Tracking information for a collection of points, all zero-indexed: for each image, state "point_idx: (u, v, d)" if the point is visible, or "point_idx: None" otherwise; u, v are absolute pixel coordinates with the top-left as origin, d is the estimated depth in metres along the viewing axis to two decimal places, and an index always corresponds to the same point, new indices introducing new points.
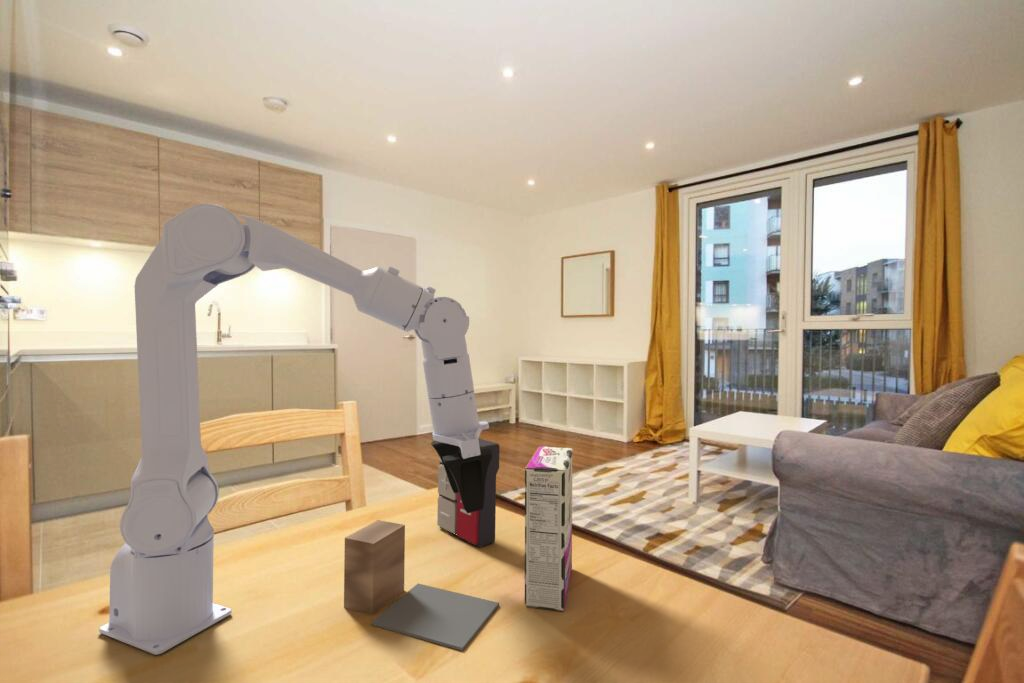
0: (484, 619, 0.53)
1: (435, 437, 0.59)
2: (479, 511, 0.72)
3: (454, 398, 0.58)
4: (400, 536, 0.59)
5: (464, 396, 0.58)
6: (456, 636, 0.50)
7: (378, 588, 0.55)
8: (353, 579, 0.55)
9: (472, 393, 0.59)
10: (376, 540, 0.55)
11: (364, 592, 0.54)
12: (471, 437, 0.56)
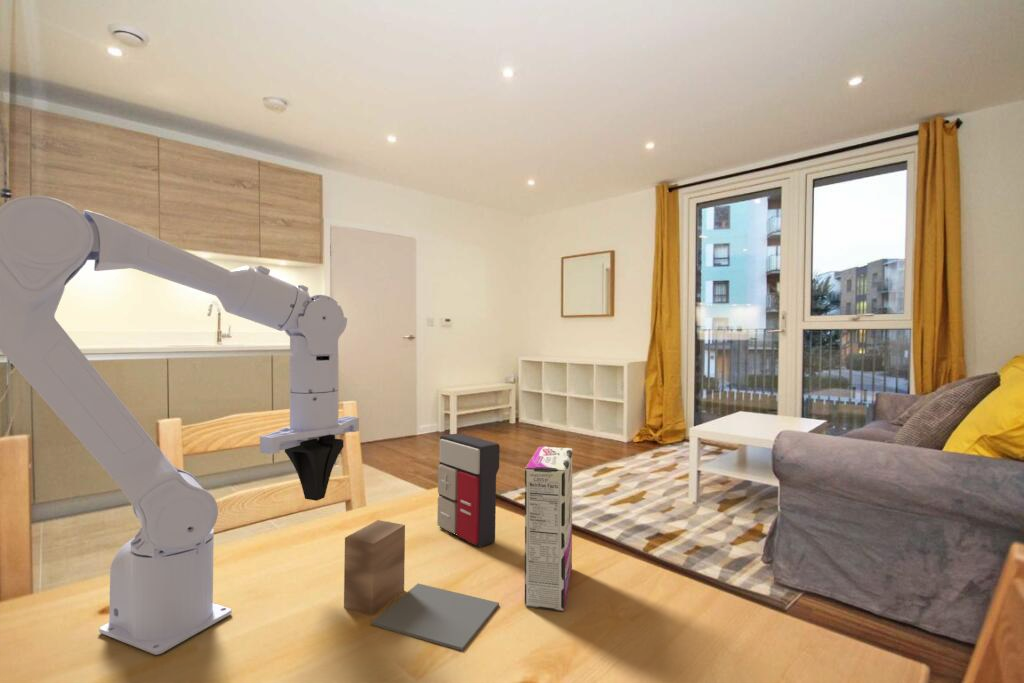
0: (484, 619, 0.53)
1: None
2: (479, 511, 0.72)
3: (295, 394, 0.59)
4: (400, 536, 0.59)
5: (304, 395, 0.58)
6: (456, 636, 0.50)
7: (378, 588, 0.55)
8: (353, 578, 0.55)
9: (318, 394, 0.59)
10: (376, 540, 0.55)
11: (364, 591, 0.54)
12: None
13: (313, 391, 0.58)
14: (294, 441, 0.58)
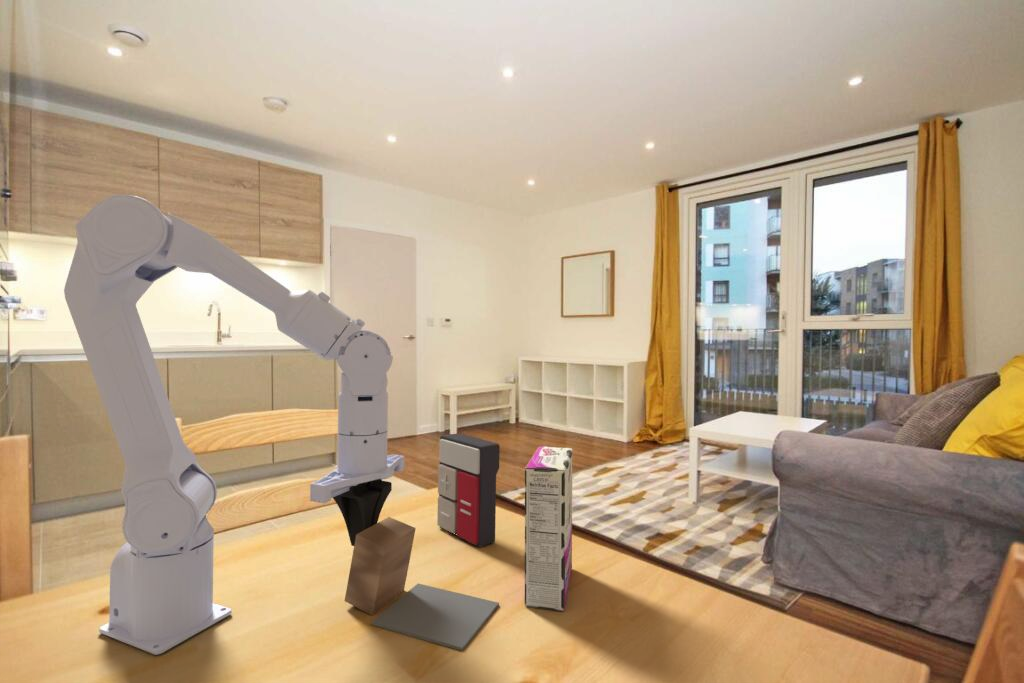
0: (484, 619, 0.53)
1: None
2: (479, 511, 0.72)
3: (345, 437, 0.56)
4: (410, 539, 0.58)
5: (355, 438, 0.55)
6: (456, 636, 0.50)
7: (382, 589, 0.55)
8: (358, 576, 0.55)
9: (369, 437, 0.56)
10: (388, 543, 0.54)
11: (367, 591, 0.54)
12: None
13: (354, 434, 0.55)
14: (344, 487, 0.55)
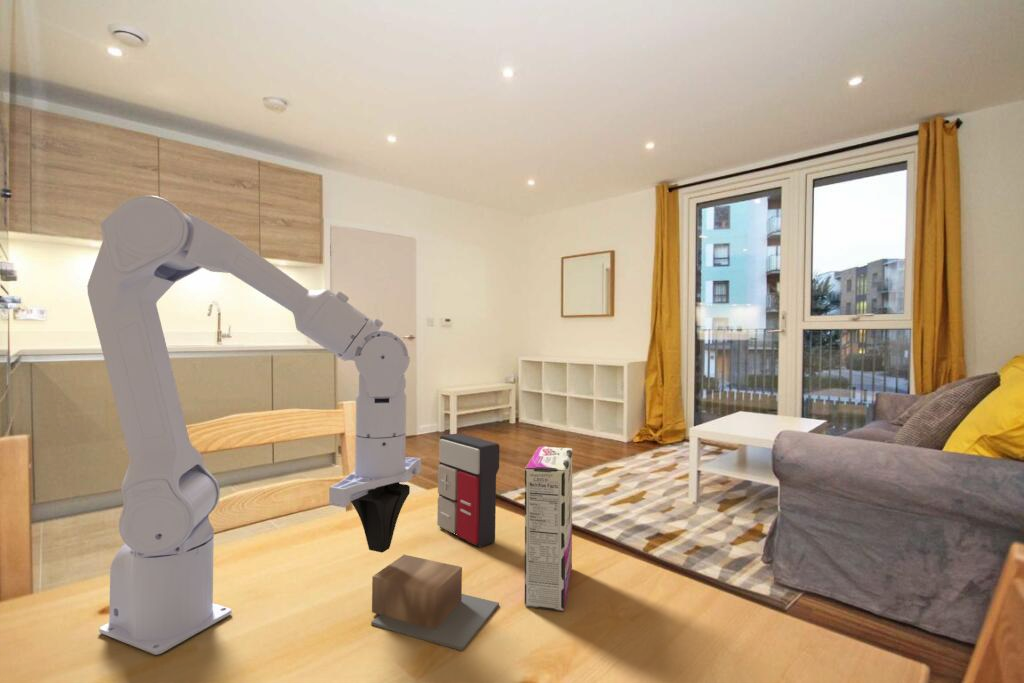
0: (484, 619, 0.53)
1: None
2: (479, 511, 0.72)
3: (363, 439, 0.55)
4: None
5: (373, 440, 0.54)
6: (456, 636, 0.50)
7: None
8: (399, 594, 0.52)
9: (388, 439, 0.55)
10: (438, 623, 0.52)
11: (389, 606, 0.53)
12: None
13: (371, 436, 0.54)
14: None
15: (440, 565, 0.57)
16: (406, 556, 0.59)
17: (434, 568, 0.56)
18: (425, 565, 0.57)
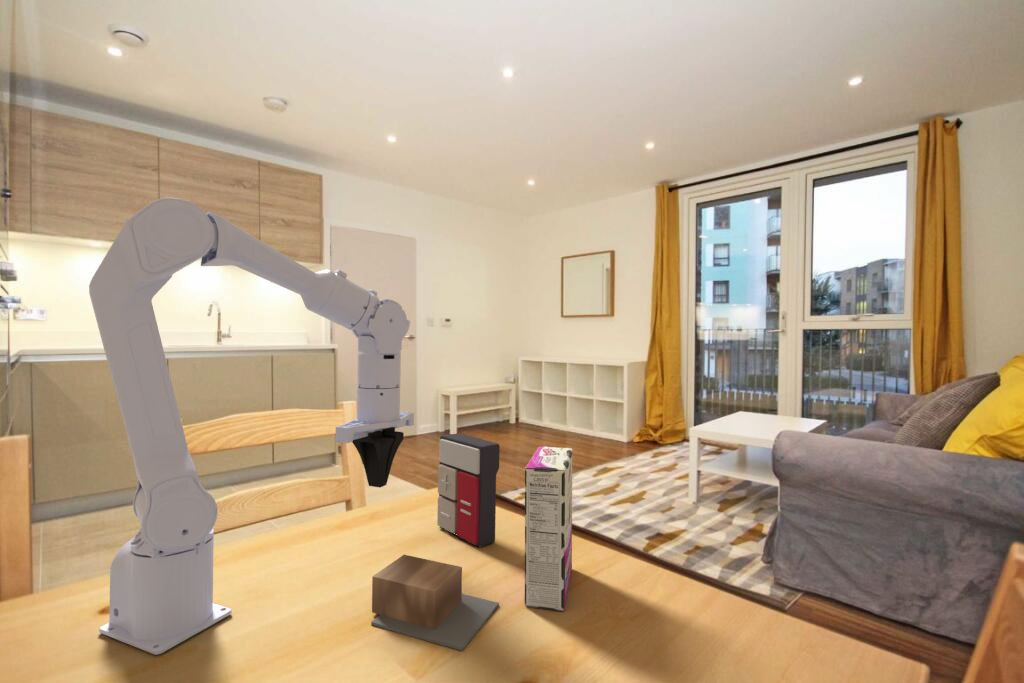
0: (484, 619, 0.53)
1: None
2: (479, 511, 0.72)
3: (364, 390, 0.64)
4: None
5: (372, 390, 0.64)
6: (456, 636, 0.50)
7: None
8: (399, 594, 0.52)
9: (385, 390, 0.65)
10: (438, 623, 0.52)
11: (389, 606, 0.53)
12: None
13: (380, 387, 0.64)
14: (363, 432, 0.64)
15: (440, 565, 0.57)
16: (406, 556, 0.59)
17: (434, 568, 0.56)
18: (425, 565, 0.57)
